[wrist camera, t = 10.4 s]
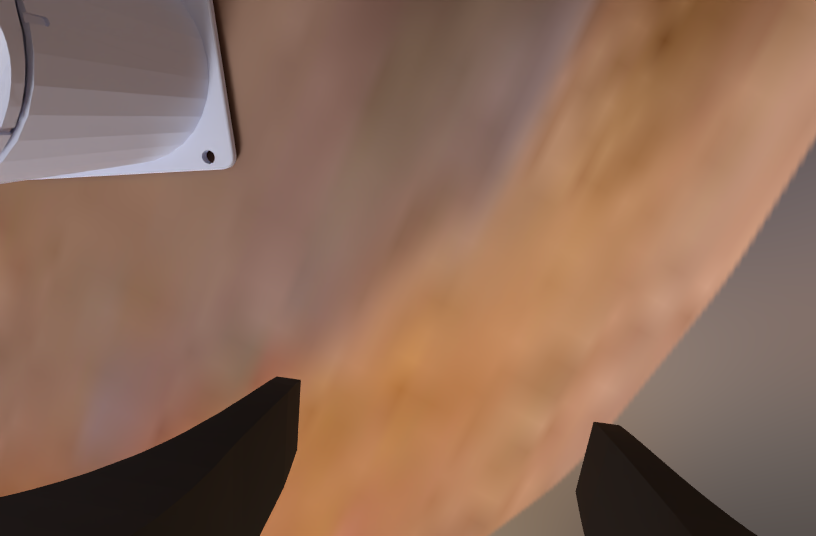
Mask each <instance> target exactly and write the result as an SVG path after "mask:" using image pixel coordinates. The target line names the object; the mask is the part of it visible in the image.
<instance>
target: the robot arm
mask: <svg viewBox="0 0 816 536" xmlns="http://www.w3.org/2000/svg"><path fill="white" fill-rule="evenodd" d="M208 151H211V152H213V153H214V156H215V160H214V162H213V163H211V162H210V161H209V160H208V159H207V152H208ZM235 162H236V149H235V142H234V136H233V129H232V123H231V116H230V110H229V103H228V97H227V91H226V84H225V78H224V71H223V65H222V58H221V52H220V45H219V39H218V32H217V26H216V20H215V13H214V7H213V0H0V184H3V183H10V182H16V181H23V180H35V179H54V178H72V177H90V176H108V175H126V174H145V173H163V172H181V171H199V170H218V169H226V168H230V167H232V166H233V165H234V164H235ZM300 384H301V380H297V379H290V378H283V377H275V378H273V379H272V380H270V381H269V382H267V383H265V384H264V385H262V386H261V387H259V388H258V389H256V390H255V391H253V392H252V393H250V394H248V395H247V396H245V397H244V398H242V399H241V400H239V401H237V402H236V403H234V404H233V405H231V406H230V407H228V408H226V409H225V410H223V411H222V412H220V413H218V414H216V415H215V416H213V417H211V418H209V419H208V420H206V421H204V422H202V423H200V424H199V425H197V426H195V427H193V428H191V429H190V430H188V431H186V432H184V433H182V434H180V435H178V436H176V437H174V438H172V439H170V440H168V441H166V442H164V443H162V444H160V445H157V446H155V447H153V448H151V449H149V450H146V451H144V452H142V453H139V454H137V455H135V456H132V457H129V458H127V459H124V460H121V461H119V462H116V463H113V464H111V465H108V466H105V467H103V468H100V469H97V470H95V471H92V472H89V473H86V474H83V475H80V476H77V477H73V478H70V479H67V480H64V481H61V482H57V483H54V484H50V485H47V486H43V487H40V488H36V489H32V490H28V491H25V492H21V493H17V494H12V495H8V496H4V497H0V536H260V534H261V532H262V530H263V528H264V526H265V524H266V522H267V520H268V518H269V516H270V514H271V512H272V510H273V508H274V506H275V504H276V502H277V500H278V498H279V496H280V494H281V492H282V490H283V488H284V485H285V482H286V480H287V477H288V474H289V472H290V469H291V466H292V463H293V460H294V457H295V454H296V451H297V441H298V422H299V403H300ZM576 496H577V501H578V507H579V511H580V517H581V522H582V526H583V531H584V534H585V536H757V535H755V534H754V533H753V532H751V531H749V530H748V529H747V528H745V527H744V526H743V525H741V524H740V523H738V522H737V521H736V520H734V519H733V518H732V517H730V516H729V515H728V514H727V513H725V512H724V511H723V510H721V509H720V508H719V507H717V506H716V505H715V504H714V503H712V502H711V501H710V500H708V499H707V498H706V497H705V496H703V495H702V494H701V493H700V492H698V491H697V490H696V489H695V488H693V487H692V486H691V485H690V484H689V483H688V482H686V481H685V480H684V479H683V478H681V477H680V476H679V475H678V474H677V473H676V472H674V471H673V470H672V469H671V468H670V467H669V466H667V465H666V464H665V463H664V462H663V461H662V460H660V459H659V458H658V457H657V456H656V455H654V453H652V452H651V451H650V450H649V449H648V448H646V447H645V446H644V445H643V444H642V443H641V442H640V441H638V440H637V439H636V438H635V437H634V436H632V435H631V434H630V433H629V432H627V431H626V430H625V429H624V428H622V427H621V426H619V425H613V424H606V423H599V422H593V426H592V430H591V434H590V438H589V442H588V446H587V449H586V453H585V457H584V461H583V465H582V469H581V473H580V476H579V480H578V485H577V488H576Z"/></svg>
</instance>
